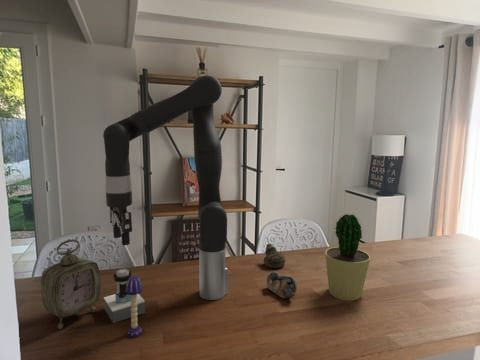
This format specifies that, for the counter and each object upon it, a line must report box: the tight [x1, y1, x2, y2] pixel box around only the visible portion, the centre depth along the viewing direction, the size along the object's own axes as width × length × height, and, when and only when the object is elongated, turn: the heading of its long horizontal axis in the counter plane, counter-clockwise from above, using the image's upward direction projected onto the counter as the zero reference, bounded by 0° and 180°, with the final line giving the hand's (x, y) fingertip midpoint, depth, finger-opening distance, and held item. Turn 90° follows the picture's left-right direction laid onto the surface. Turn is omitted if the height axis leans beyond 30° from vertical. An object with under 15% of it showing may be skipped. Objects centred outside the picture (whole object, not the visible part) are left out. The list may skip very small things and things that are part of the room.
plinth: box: [103, 293, 146, 324], centre depth 106 cm, size 10×10×4 cm
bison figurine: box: [266, 271, 298, 299], centre depth 118 cm, size 12×7×10 cm
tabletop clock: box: [40, 239, 101, 330], centre depth 100 cm, size 14×9×25 cm, turn 148°
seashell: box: [263, 243, 286, 269], centre depth 143 cm, size 11×12×10 cm
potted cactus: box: [324, 212, 371, 302], centre depth 118 cm, size 15×15×30 cm
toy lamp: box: [125, 275, 144, 338], centre depth 93 cm, size 5×5×17 cm
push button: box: [113, 268, 133, 304], centre depth 104 cm, size 7×5×10 cm
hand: (121, 241), depth 103 cm, fingers open, 8 cm apart
